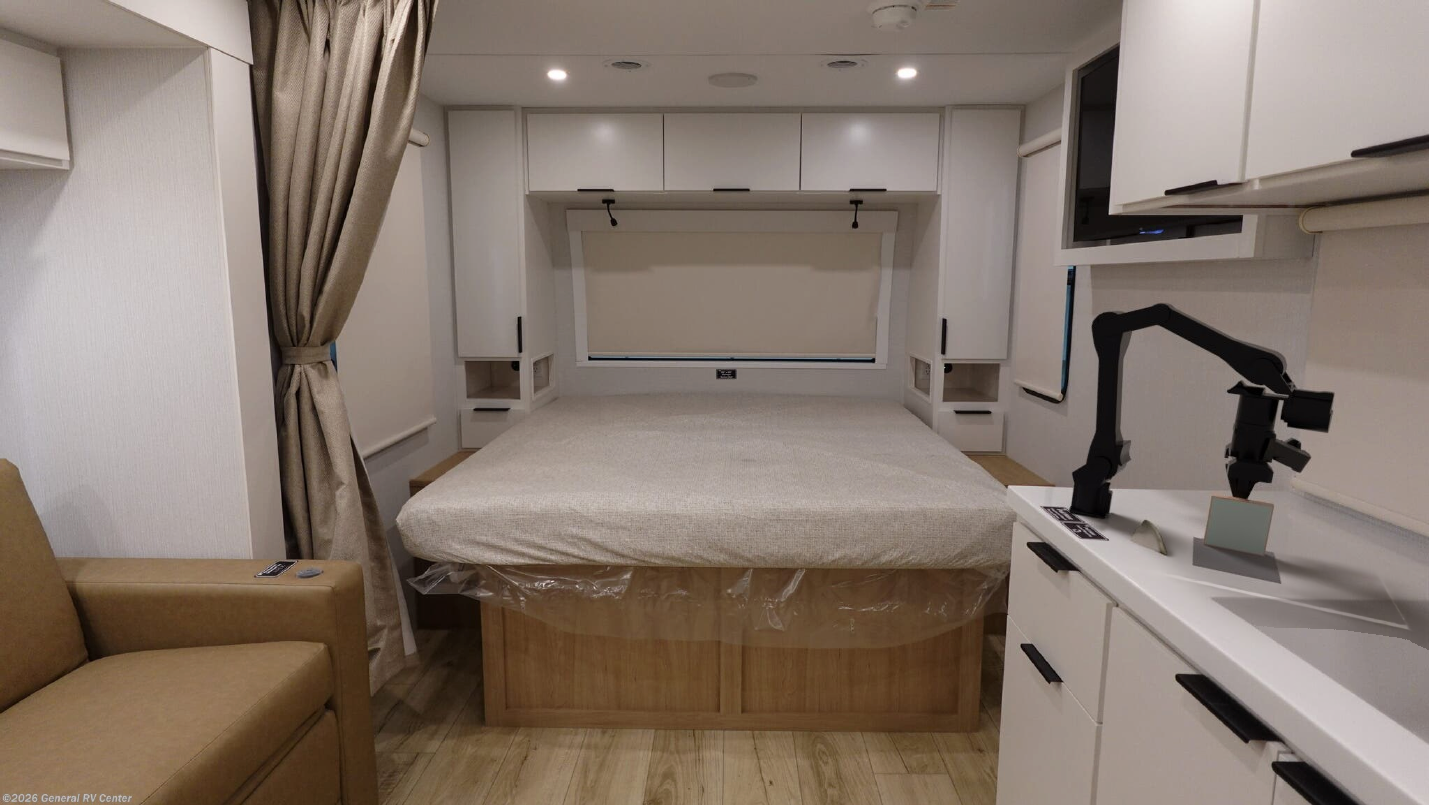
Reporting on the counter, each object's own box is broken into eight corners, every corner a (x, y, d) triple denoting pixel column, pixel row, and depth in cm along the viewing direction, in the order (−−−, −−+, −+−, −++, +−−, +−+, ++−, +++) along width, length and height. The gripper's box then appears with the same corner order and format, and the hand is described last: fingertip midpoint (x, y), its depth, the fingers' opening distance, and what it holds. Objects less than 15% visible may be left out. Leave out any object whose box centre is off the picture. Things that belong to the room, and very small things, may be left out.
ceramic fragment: (1169, 560, 133) (1172, 539, 132) (1135, 556, 134) (1138, 535, 134) (1146, 534, 146) (1149, 514, 146) (1116, 530, 148) (1119, 511, 147)
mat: (1192, 567, 129) (1192, 564, 129) (1193, 539, 143) (1193, 537, 143) (1280, 586, 123) (1281, 583, 123) (1273, 555, 137) (1273, 552, 137)
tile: (1203, 544, 139) (1211, 495, 137) (1203, 541, 141) (1211, 493, 139) (1264, 556, 135) (1274, 506, 133) (1263, 553, 136) (1273, 503, 134)
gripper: (1319, 439, 124) (1300, 533, 127) (1305, 420, 140) (1289, 504, 143) (1236, 428, 130) (1219, 518, 133) (1231, 411, 146) (1217, 492, 149)
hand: (1238, 508), depth 139 cm, fingers closed
